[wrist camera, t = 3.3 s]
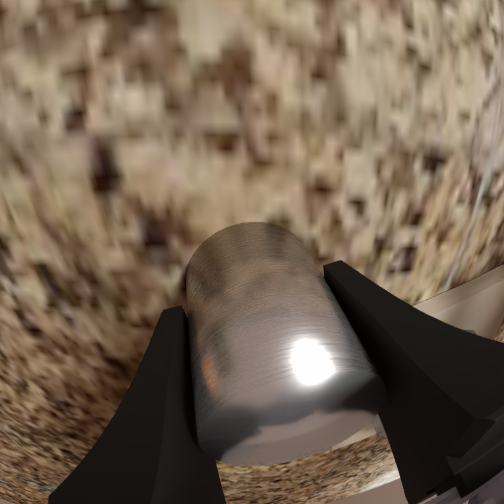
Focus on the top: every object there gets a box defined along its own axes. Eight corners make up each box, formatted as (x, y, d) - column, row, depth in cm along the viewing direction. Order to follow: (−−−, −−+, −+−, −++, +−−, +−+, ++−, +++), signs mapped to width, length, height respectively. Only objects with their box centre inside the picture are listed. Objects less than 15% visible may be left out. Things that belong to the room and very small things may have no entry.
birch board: (512, 259, 15) (522, 268, 14) (463, 378, 22) (469, 386, 21) (323, 339, 14) (330, 354, 13) (327, 440, 21) (331, 450, 20)
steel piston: (302, 206, 10) (399, 341, 5) (314, 305, 13) (375, 432, 8) (168, 243, 10) (164, 410, 5) (207, 336, 13) (228, 476, 8)
